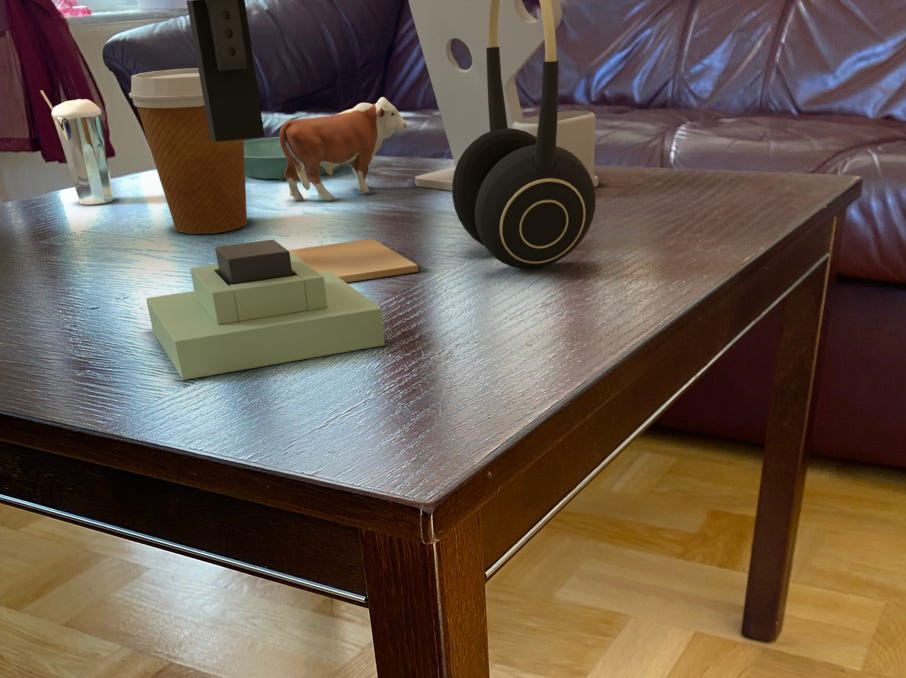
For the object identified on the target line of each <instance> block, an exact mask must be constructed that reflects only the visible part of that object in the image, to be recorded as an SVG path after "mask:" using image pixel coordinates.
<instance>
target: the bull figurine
mask: <svg viewBox="0 0 906 678" xmlns="http://www.w3.org/2000/svg"><path fill="white" fill-rule="evenodd" d="M407 126H408V122H407V121H406V120H405V119H404V118H403V117H402V115H401V113H400V112H399V111H398V109H397V108H396V107H395V105H393V104H392V103H391V102H390V101H389V100H388V99H387V98H386V97H384V96H381V97H380V98H379V99H378V100H377V102H376V103H369V102H360V103H358V104H356V105H355V106H354V107H352V108H349V109H346V110H344V111H341V112H339V113H336V114H331V115H325V116H316V117H315V116H314V117H307V118H299V119H288V120H287V121H285V122H284V123H283V124H282V125H281V127H280V130H279V136H278V137H279V139H280V145H281V148H282V151H283V153H284V155H285V157H286V159H287V168H286V170H285V173H284V175H285V177H286V179H285V180H286V182H287V185H288V187H289V197H292V198H293V200H294V201H296V202H297V201H299V202H300V201H303V200H304V196H303V194H302V193H301V191H300V190H299V186H298V181H297V179H299V180H300V183H301V186H302V187H303V188H304V190H306V191H309V190H310V188H311V184H312V185H313V186H314V188H315V189H316V192H317V196H318V198H319V199H322V200H323V199H324V200H325V201H327V202H330V201H334V200H335V197H334V196H333V194H332V193H331V192H330V191H328V190H327V188H326V187H325V185H324V183H323V182H322V178H321V175H319V166H320V165H321V166H323V168H324V169H325V170H326V172H327V173H328V174H327V175H329V176H332V175H333V174H334V172H333V169H334V168H335V167H336V166H338V165H341V164H343V165H344V164H349V165H350V166H351V167H350V168H351V169H352V171H353V173H354V174H355V177H356V189H357V190H358V191H359V192H361V193H362V194H364V195H368V194H371V190H370V189H369V188H370V186H369V184H368V183H367V182H366V178H367V176H368V173H369V166H370V163H371V162H372V161H373V159H374V156H375V155H376V154H377V153H378V151H379V149H381V147H382V145H383V141H384V140H385V139H389V138H390V137H392V135H393V134H394V133H395V132H396V131H399V132H403V131H405V130H406V129H407ZM297 176H299V178H297Z"/></svg>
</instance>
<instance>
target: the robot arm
mask: <svg viewBox="0 0 906 678" xmlns="http://www.w3.org/2000/svg"><path fill="white" fill-rule="evenodd" d="M186 5H187V12H188V18H189V23H190V29H191V34H192V41H193V46H194V52H195V58H196V59H195V60H196V65H197V68H198V70H199V76H200V82H201V88H202V93H203V99H204V105H205V111H206V117H207V122H208V128H209V134H210V139H211V140H213V141H215V142H221V141H230V140H240V139H244V140H250V139H260V138H266V137H265V136H266V135H265V129H264V123H263V115H262V108H261V103H260V101H261V100H260V95H259V89H258V81H257V74H256V67H255V62H254V61H255V59H254V53H253V48H252V47H253V46H252V42H251V34H250V33H251V32H250V27H249V26H250V25H249V21H248V20H249V19H248V13H247V6H246V0H186Z"/></svg>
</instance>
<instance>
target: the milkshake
mask: <svg viewBox="0 0 906 678" xmlns="http://www.w3.org/2000/svg"><path fill="white" fill-rule="evenodd" d="M39 92H40V94H41V95H42V97H43V98H44V100H45V102H46V103H47V105H48V106H49V108H50V110H51V117H52V119H53V123H54V126H55V129H56V132H57V135H58V138H59V141H60V143H61V146H62V149H63V152H64V157H65V159H66V163H67V166H68V169H69V172H70V175H71V178H72V179H71V180H72V182H73V185H74V188H75V192H76V194H77V198H78V201H79V203H80V204H81V205H85V206H86V205H87V206H88V205H89V206H90V205H93V206H94V205H103V204H106V203H111V202H113V200H114V192H113V186H112V180H111V173H110V166H109V161H108V153H107V147H106V146H107V145H106V139H105V132H104V124H103V123H104V122H103V116H102V114H103V113H102V110H101V108H100V107H99V106H98V105H97V104H96V103H95V102H93V101H92V100H90V99H87V98H84V99H81V98H77V99H72V100H66V101H63V102H62V103H59V104H57V105H54V107H53V105H52V103H51V102H50V100H49V98H48V97H47V96H46V95H47V94H45V92H44V90H42V89H41V90H39Z"/></svg>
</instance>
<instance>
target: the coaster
mask: <svg viewBox="0 0 906 678" xmlns="http://www.w3.org/2000/svg"><path fill="white" fill-rule="evenodd" d="M287 250H288V251H289V252H290V254H294V255H296V256H297V257H298V258H300V259H301V260H302V261H303V262H305V263H306V264H307V265H309V266H310V267H311V268H313V269H314V270H315V271H317V272H318V273H322V272H329V271H331V272H332V273H333V274H335V275H336V276H338V277H339V278H340V279H342V280H343V281H344V282H346V283H353V282H361V281H365V280H373V279H380V278H386V277H393V276H398V275H405V274H412V273H417V272H419V266H418V264H417V263H415V262H413V261H411V260H410V259H408V258H406V257H405V256H403V255H401V254H400V253H398V252H396V251H394V250H393V249H391V248H389V247H388V246H386V245H384V244H382V243H381V242H379V241H378V240H375V239H374V238H368V239H360V240H353V241H346V242H338V243H332V244H322V245H316V246H309V247H308V246H307V247H302V248H301V247H300V248H295V249H287Z"/></svg>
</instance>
